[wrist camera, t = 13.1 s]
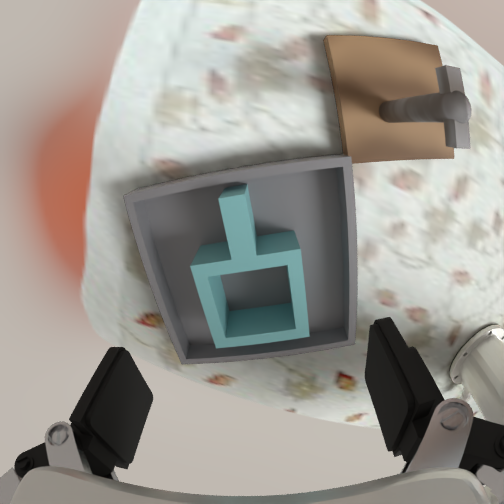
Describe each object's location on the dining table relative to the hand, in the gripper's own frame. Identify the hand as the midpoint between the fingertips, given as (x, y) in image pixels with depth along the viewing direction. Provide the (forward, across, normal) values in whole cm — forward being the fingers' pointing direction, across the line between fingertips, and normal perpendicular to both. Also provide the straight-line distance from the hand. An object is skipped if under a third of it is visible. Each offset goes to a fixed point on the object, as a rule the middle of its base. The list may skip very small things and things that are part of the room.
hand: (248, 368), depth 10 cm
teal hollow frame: (+18, +1, +3) cm, 18 cm away
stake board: (+18, -15, -10) cm, 26 cm away
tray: (+18, +1, +4) cm, 19 cm away
